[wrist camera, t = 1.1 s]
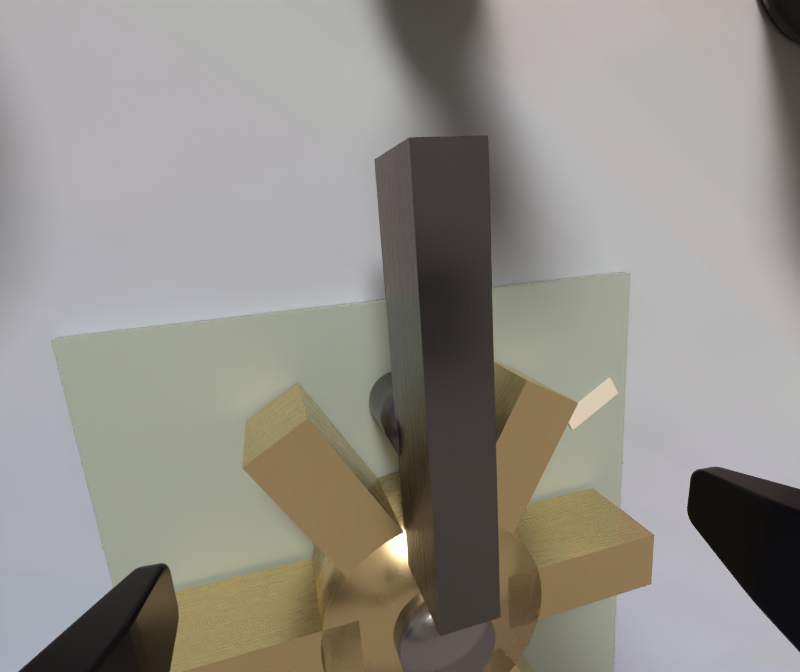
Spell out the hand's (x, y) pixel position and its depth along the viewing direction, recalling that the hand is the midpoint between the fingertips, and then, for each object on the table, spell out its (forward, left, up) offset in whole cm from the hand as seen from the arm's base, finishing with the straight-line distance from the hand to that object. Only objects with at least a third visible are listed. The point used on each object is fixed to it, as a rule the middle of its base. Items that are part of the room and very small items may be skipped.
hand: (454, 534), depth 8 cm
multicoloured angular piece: (+2, -6, -12) cm, 14 cm away
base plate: (+2, -10, -13) cm, 16 cm away
